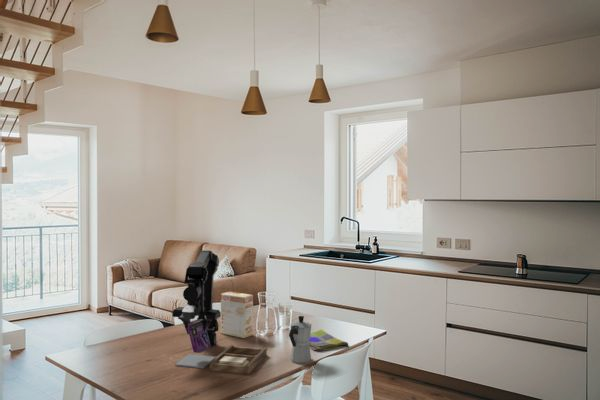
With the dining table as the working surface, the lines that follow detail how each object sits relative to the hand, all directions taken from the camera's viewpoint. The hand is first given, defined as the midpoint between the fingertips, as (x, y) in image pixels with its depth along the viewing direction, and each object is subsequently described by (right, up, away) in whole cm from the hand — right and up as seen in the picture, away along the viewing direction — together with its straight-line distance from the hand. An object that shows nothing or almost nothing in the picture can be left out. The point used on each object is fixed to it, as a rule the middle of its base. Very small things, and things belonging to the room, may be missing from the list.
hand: (196, 334), depth 191 cm
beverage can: (+3, -7, 0) cm, 7 cm away
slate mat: (0, -11, 0) cm, 11 cm away
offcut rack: (+17, -11, 0) cm, 21 cm away
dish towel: (+51, -12, +28) cm, 59 cm away
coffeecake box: (+11, -11, +38) cm, 41 cm away
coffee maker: (+42, -12, +2) cm, 43 cm away
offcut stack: (+16, -12, -6) cm, 21 cm away
